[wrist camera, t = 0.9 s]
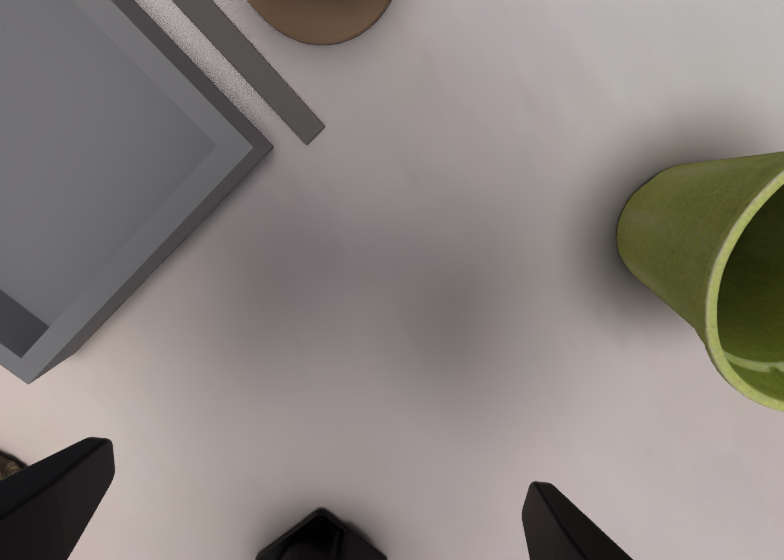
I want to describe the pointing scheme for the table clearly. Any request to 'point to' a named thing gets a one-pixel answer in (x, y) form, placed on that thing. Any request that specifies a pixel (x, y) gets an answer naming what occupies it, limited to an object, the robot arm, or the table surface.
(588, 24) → the table surface
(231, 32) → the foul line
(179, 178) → the grey square tray
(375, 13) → the tee
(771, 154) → the plant pot
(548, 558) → the robot arm
